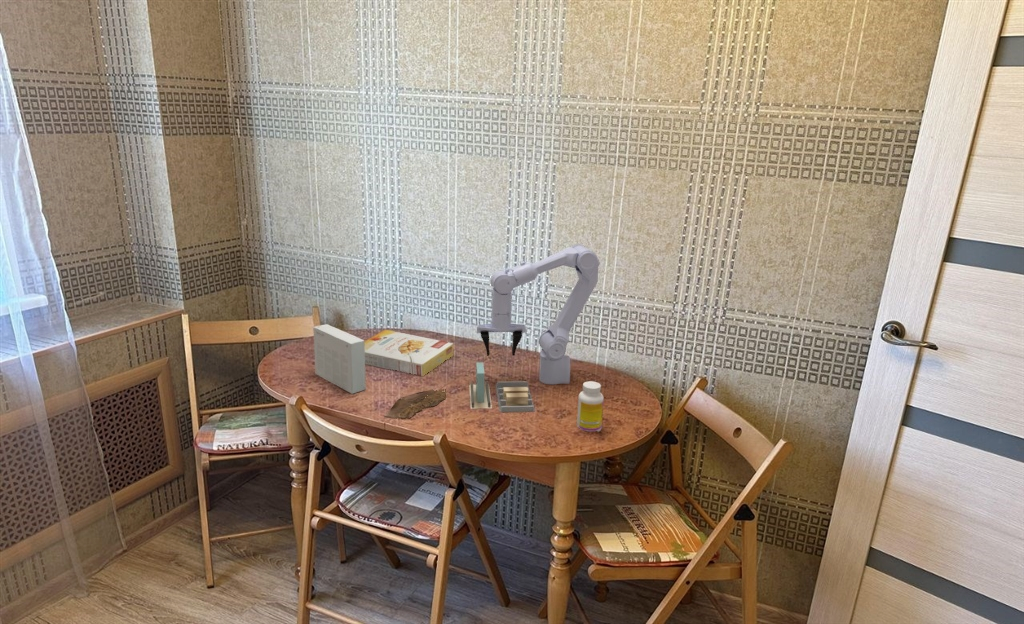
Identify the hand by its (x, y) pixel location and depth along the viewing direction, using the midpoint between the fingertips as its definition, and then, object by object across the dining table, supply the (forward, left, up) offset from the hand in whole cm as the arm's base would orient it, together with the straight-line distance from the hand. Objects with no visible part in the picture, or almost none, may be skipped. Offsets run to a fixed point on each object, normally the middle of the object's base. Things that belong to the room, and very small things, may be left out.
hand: (500, 354), depth 188 cm
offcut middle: (-4, +13, -9) cm, 16 cm away
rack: (-4, +10, -10) cm, 15 cm away
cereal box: (+31, -23, -11) cm, 40 cm away
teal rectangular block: (+6, +9, -9) cm, 15 cm away
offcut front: (-4, +17, -9) cm, 20 cm away
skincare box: (+49, -5, -11) cm, 50 cm away
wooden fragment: (+24, +10, -11) cm, 28 cm away
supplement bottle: (-22, +28, -11) cm, 37 cm away
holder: (+6, +9, -10) cm, 15 cm away
